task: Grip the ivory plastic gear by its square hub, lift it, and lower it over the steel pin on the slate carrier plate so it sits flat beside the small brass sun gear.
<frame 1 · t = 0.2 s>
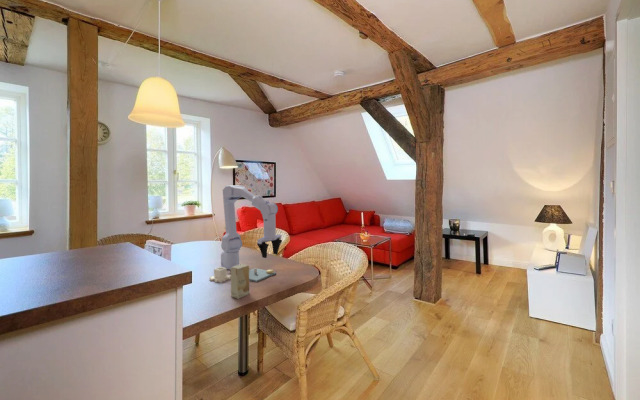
hand: (270, 255, 147), 10 cm above the table, tool pointing down, fingers open, 7 cm apart
carrier plate: (255, 275, 149), on the table
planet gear: (220, 278, 144), on the table
skincare box: (240, 295, 124), on the table
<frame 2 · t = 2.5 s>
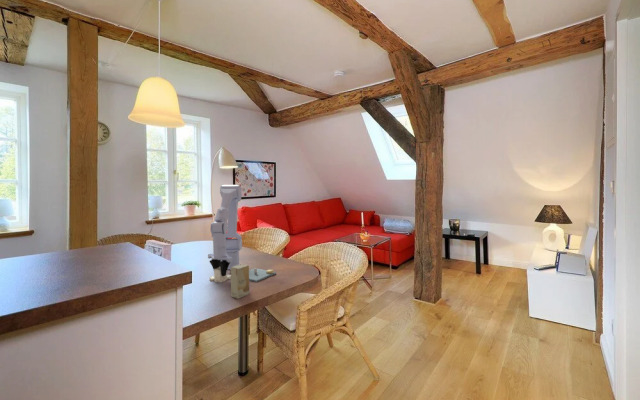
hand: (220, 274, 144), 2 cm above the table, tool pointing down, fingers closed on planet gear, 4 cm apart
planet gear: (220, 278, 144), on the table, touching gripper
everything else where it was.
when the fingers open (3 cm above the table, at t = 8.6 s): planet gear stays where it is, resting on carrier plate.
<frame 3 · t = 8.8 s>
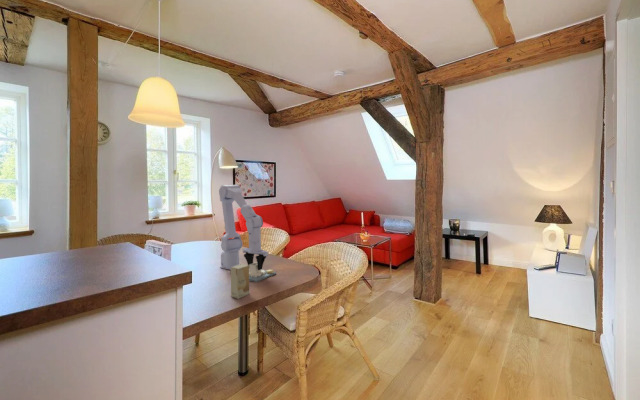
hand: (255, 268, 149), 3 cm above the table, tool pointing down, fingers open, 5 cm apart
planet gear: (255, 273, 149), point 1 cm above the table, touching carrier plate
everything else where it was.
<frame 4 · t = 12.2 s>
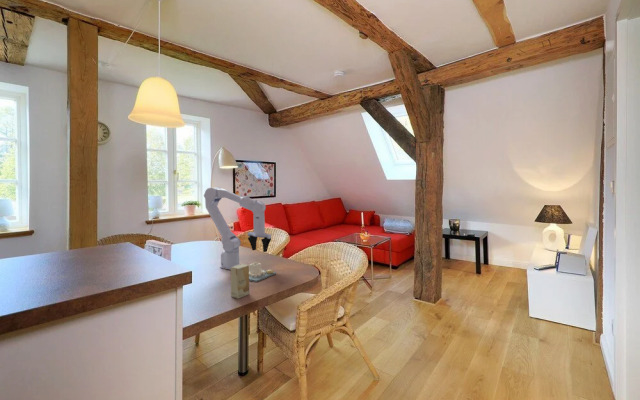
hand: (259, 250, 160), 9 cm above the table, tool pointing down, fingers open, 7 cm apart
nothing on the table moved.
at the end: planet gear 0.1 cm off-centre on the carrier plate, point 0.8 cm above the carrier plate's base; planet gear tilted 0°; the gripper is holding nothing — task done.
